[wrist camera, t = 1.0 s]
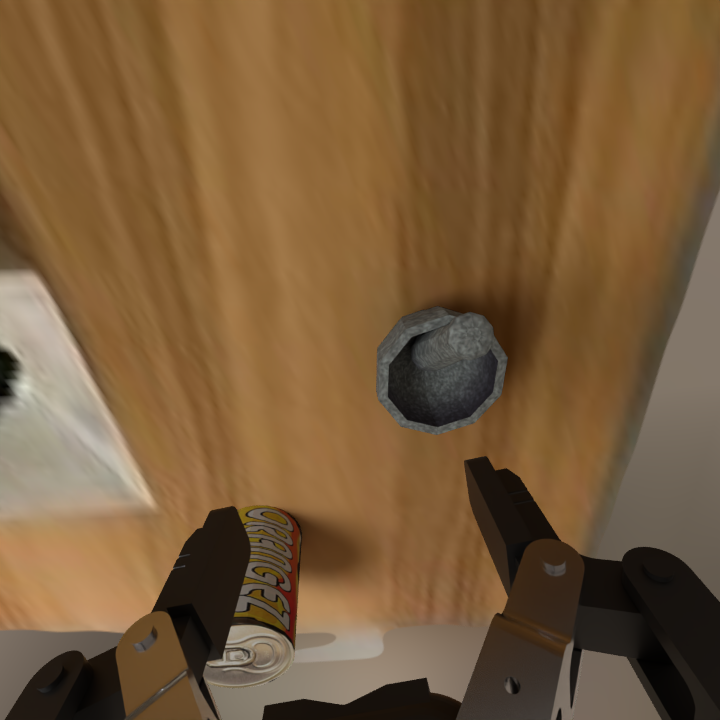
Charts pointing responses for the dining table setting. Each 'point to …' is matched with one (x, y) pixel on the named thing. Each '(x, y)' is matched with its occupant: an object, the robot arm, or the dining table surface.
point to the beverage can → (263, 604)
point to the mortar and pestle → (439, 370)
